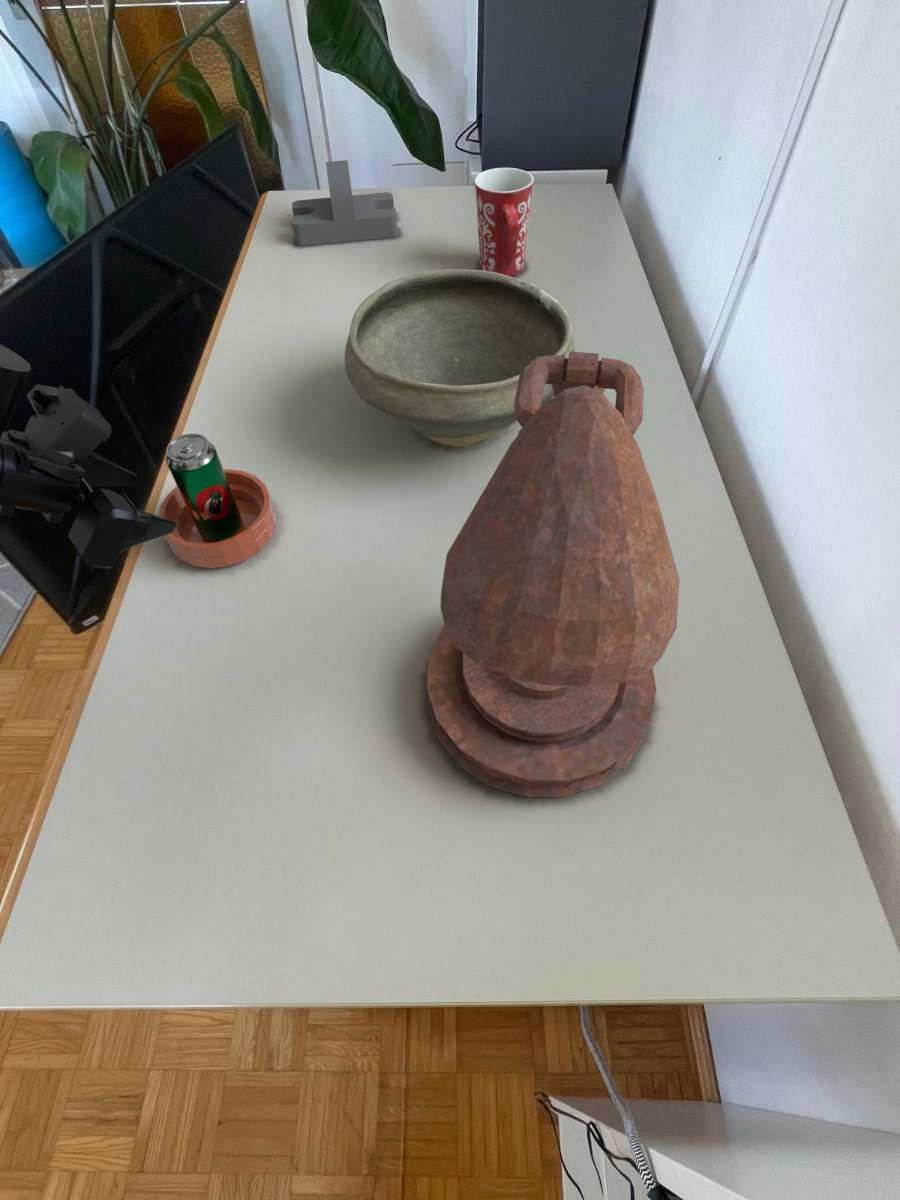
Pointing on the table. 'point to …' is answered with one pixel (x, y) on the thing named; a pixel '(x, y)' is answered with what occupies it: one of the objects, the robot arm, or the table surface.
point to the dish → (240, 546)
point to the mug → (503, 218)
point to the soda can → (204, 486)
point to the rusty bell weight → (557, 592)
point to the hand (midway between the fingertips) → (154, 503)
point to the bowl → (452, 350)
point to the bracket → (343, 213)
